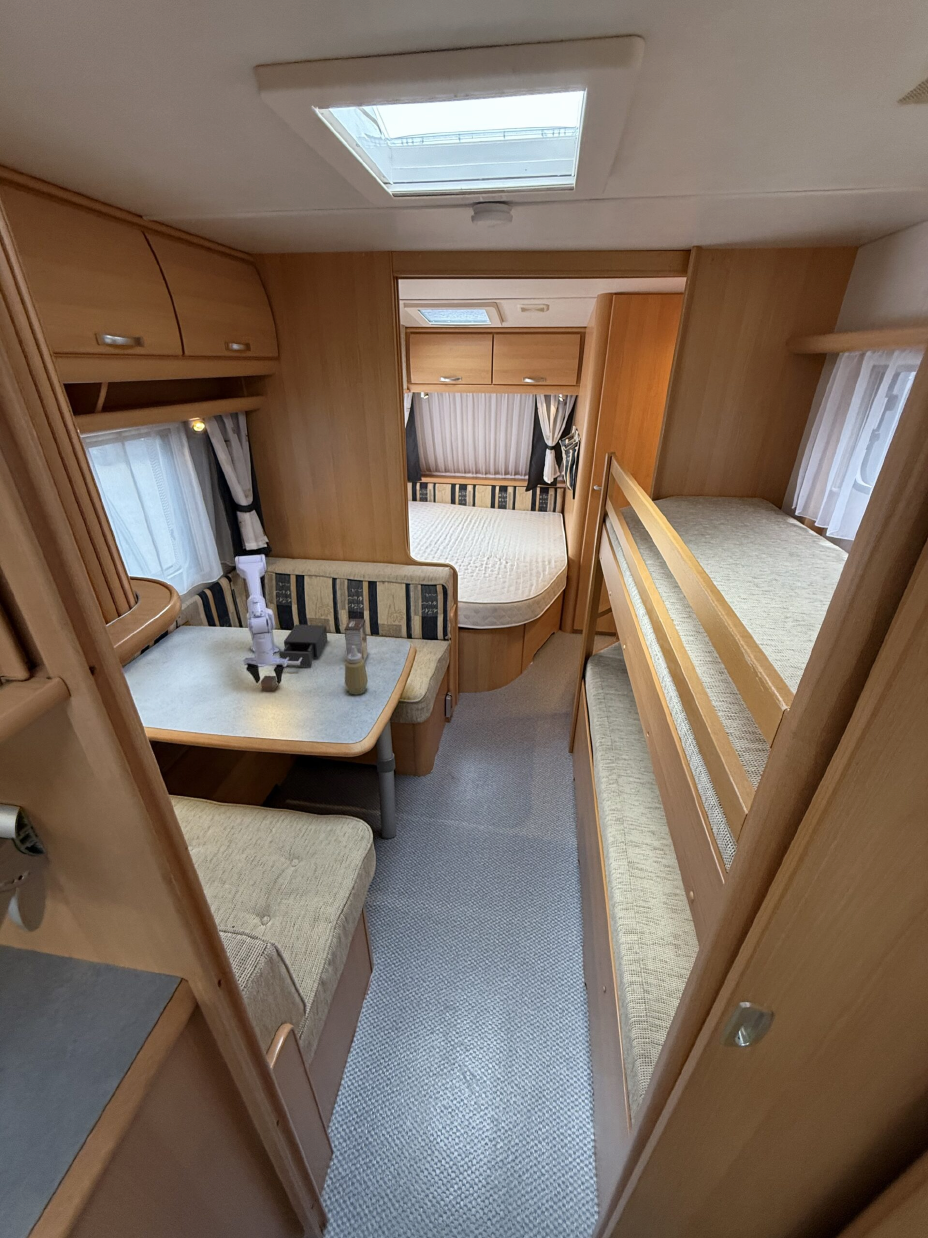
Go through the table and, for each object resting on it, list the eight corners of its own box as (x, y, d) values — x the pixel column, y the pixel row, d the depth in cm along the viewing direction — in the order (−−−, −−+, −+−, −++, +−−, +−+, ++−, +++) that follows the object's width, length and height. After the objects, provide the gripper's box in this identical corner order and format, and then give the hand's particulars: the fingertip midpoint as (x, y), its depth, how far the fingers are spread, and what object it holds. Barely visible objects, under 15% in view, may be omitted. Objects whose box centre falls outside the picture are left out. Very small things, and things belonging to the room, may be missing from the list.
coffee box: (352, 653, 200) (349, 618, 193) (368, 654, 200) (365, 618, 193) (346, 665, 192) (344, 628, 184) (363, 666, 192) (361, 629, 184)
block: (273, 691, 174) (271, 682, 172) (262, 691, 174) (260, 681, 172) (277, 685, 178) (275, 675, 176) (266, 684, 178) (264, 675, 176)
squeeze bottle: (363, 681, 182) (360, 639, 174) (372, 692, 176) (369, 648, 168) (342, 688, 178) (338, 644, 170) (350, 699, 172) (346, 654, 164)
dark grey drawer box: (317, 659, 195) (315, 642, 191) (286, 658, 195) (283, 641, 191) (327, 641, 208) (326, 625, 205) (297, 640, 208) (295, 624, 205)
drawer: (307, 673, 184) (305, 659, 182) (276, 671, 184) (274, 658, 182) (320, 649, 200) (319, 636, 198) (292, 648, 200) (291, 635, 198)
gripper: (237, 653, 165) (243, 687, 171) (280, 655, 165) (285, 689, 171) (245, 643, 172) (251, 676, 178) (287, 645, 172) (292, 678, 178)
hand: (268, 682), depth 175 cm, fingers open, 7 cm apart
